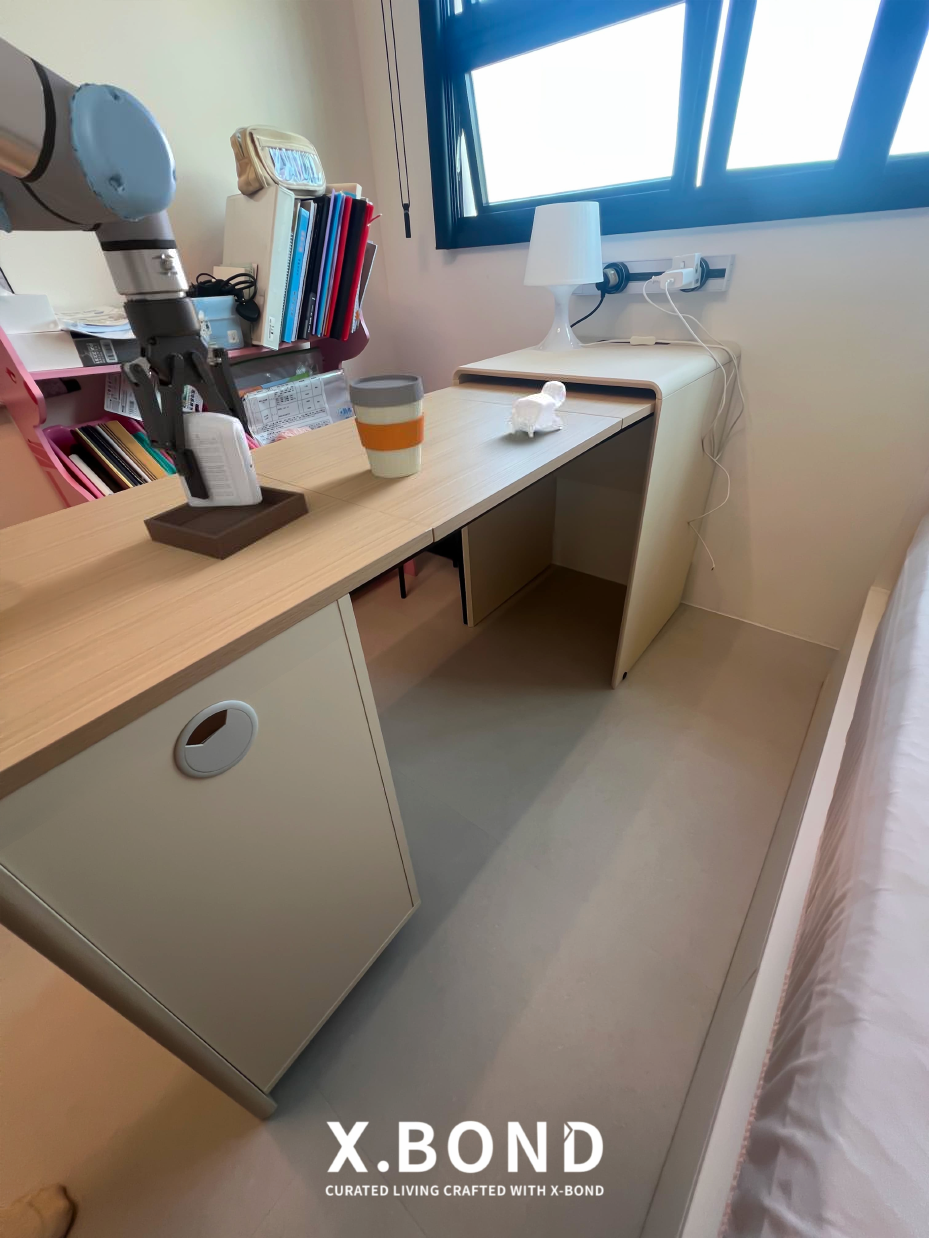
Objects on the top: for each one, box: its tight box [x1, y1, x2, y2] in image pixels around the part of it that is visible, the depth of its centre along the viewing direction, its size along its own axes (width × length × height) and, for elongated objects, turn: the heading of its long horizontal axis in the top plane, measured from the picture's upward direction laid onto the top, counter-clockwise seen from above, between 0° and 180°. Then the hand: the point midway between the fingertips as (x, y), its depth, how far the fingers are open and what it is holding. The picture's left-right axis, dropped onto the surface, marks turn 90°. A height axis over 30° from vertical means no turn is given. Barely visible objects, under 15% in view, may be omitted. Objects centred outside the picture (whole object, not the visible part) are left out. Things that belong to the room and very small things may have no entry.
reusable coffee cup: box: [348, 373, 425, 479], centre depth 89 cm, size 12×13×15 cm
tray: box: [143, 484, 309, 561], centre depth 74 cm, size 17×15×3 cm
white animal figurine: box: [507, 380, 567, 438], centre depth 109 cm, size 9×8×15 cm
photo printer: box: [177, 411, 262, 507], centre depth 69 cm, size 10×4×12 cm, turn 90°
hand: (221, 488), depth 72 cm, fingers closed on photo printer, 6 cm apart
